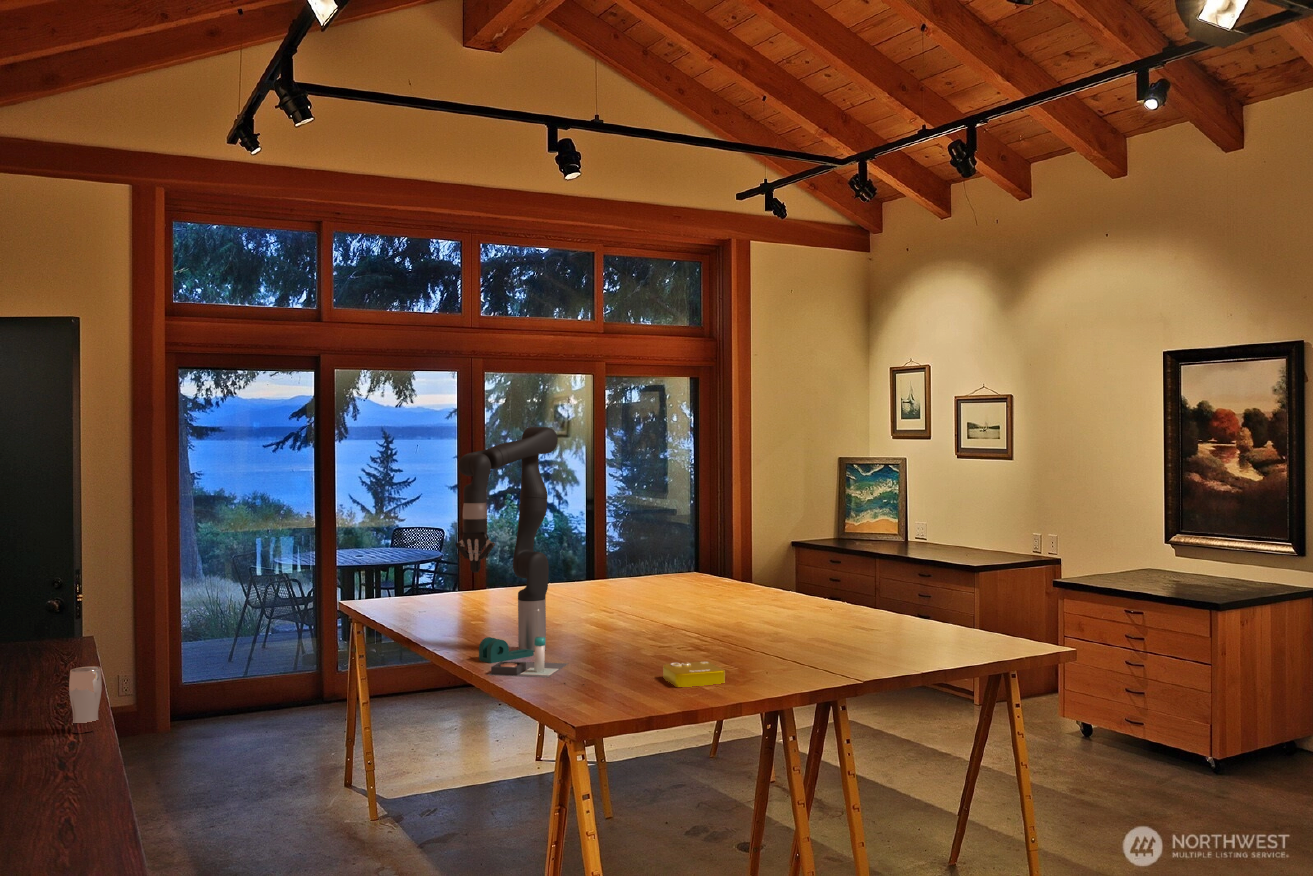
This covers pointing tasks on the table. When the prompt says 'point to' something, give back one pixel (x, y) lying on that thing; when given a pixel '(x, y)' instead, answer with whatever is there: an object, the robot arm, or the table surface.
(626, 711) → the table surface
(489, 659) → the bracket
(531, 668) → the drawing board
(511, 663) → the button
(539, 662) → the marker
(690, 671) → the element tile
